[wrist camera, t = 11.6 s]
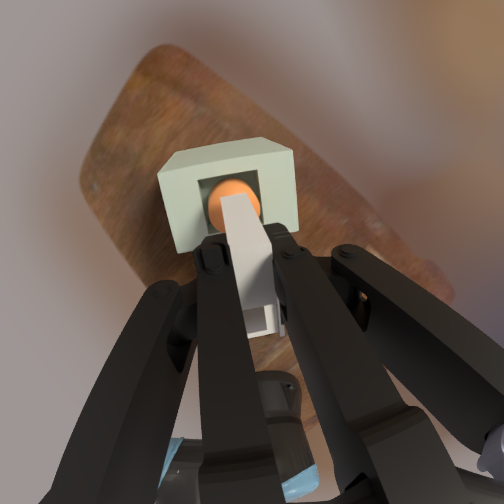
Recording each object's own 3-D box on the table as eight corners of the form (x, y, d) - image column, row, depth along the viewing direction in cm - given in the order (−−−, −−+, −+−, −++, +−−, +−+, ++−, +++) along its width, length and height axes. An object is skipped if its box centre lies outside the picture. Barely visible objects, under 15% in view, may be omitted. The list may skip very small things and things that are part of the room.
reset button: (256, 217, 20) (263, 230, 18) (212, 225, 20) (213, 239, 18) (250, 174, 18) (257, 182, 16) (204, 182, 18) (204, 191, 16)
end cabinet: (267, 190, 30) (298, 230, 20) (186, 205, 29) (177, 253, 20) (261, 137, 27) (292, 150, 17) (175, 152, 26) (157, 173, 17)
